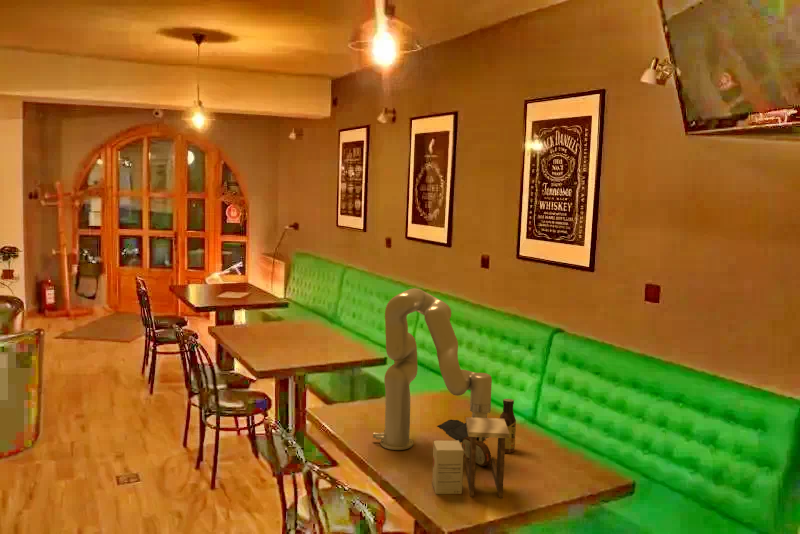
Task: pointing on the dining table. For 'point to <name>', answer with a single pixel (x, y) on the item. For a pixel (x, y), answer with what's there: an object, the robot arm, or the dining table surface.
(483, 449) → the tin
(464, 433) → the dark slate chunk
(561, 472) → the dining table surface
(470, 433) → the miniature wooden stool
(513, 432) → the sauce bottle
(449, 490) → the supplement box
